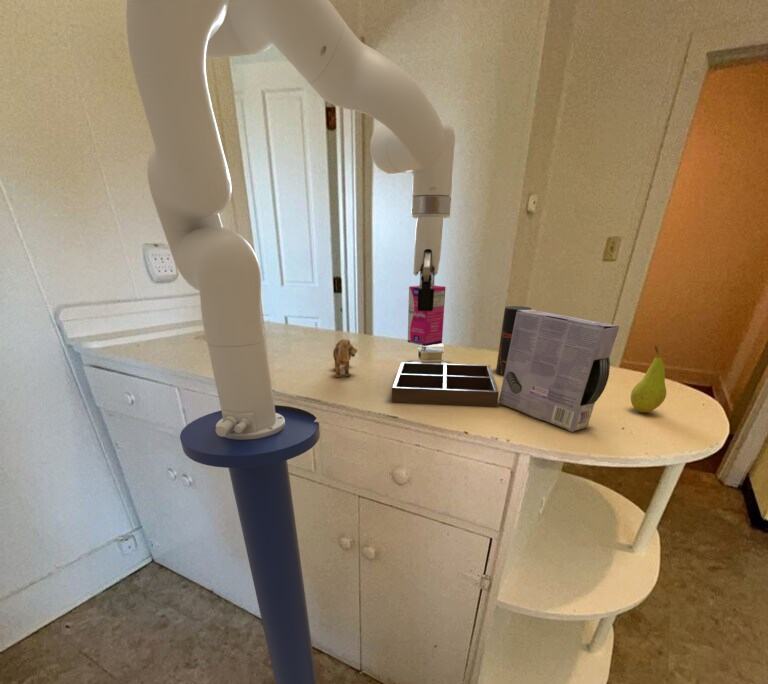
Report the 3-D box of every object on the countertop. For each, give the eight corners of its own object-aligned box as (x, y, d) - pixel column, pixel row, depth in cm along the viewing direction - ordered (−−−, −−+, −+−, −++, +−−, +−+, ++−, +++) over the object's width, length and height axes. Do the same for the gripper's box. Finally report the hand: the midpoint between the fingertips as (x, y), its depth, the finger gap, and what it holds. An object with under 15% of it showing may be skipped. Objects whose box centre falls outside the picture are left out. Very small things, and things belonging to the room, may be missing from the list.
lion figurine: (359, 379, 102) (358, 340, 97) (337, 381, 101) (335, 341, 96) (347, 364, 114) (345, 329, 109) (327, 366, 113) (325, 329, 108)
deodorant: (513, 369, 111) (523, 305, 103) (524, 375, 106) (535, 309, 98) (491, 370, 110) (500, 306, 102) (502, 376, 105) (512, 309, 97)
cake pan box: (595, 429, 76) (626, 322, 66) (577, 435, 74) (607, 325, 64) (513, 400, 90) (529, 308, 80) (496, 404, 87) (511, 310, 78)
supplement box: (406, 342, 96) (408, 285, 90) (425, 339, 100) (427, 284, 94) (424, 346, 93) (427, 287, 87) (443, 343, 96) (447, 286, 90)
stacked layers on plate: (447, 362, 116) (449, 341, 113) (448, 371, 109) (450, 348, 106) (411, 361, 117) (412, 340, 114) (409, 370, 110) (410, 347, 107)
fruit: (655, 419, 80) (679, 353, 74) (622, 412, 83) (642, 348, 77) (662, 411, 84) (685, 347, 77) (630, 405, 87) (650, 343, 81)
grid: (496, 406, 86) (498, 392, 84) (391, 402, 88) (391, 387, 87) (488, 377, 104) (489, 365, 102) (401, 374, 106) (401, 362, 104)
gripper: (414, 211, 90) (411, 302, 100) (408, 206, 76) (405, 313, 85) (450, 211, 90) (443, 303, 99) (450, 206, 75) (443, 314, 85)
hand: (426, 307), depth 92 cm, fingers closed on supplement box, 8 cm apart
